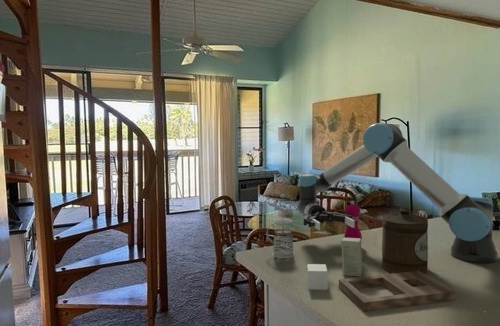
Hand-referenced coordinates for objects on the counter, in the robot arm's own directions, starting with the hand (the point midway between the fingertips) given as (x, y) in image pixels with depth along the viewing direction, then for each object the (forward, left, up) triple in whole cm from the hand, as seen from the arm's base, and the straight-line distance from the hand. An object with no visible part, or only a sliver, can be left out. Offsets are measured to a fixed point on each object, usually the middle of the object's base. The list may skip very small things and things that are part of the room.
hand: (336, 225), depth 130 cm
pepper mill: (-15, -16, -15) cm, 27 cm away
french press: (+17, -15, -15) cm, 28 cm away
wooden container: (-21, +11, -15) cm, 27 cm away
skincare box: (-1, +11, -15) cm, 18 cm away
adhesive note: (+14, +17, -15) cm, 26 cm away
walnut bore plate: (-6, +28, -15) cm, 32 cm away
